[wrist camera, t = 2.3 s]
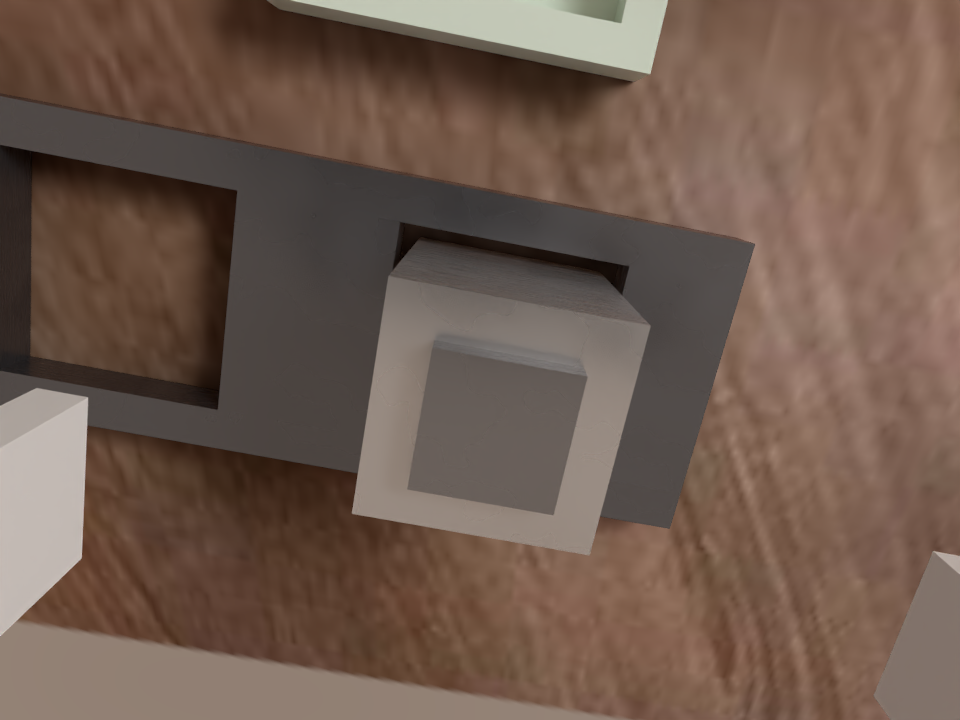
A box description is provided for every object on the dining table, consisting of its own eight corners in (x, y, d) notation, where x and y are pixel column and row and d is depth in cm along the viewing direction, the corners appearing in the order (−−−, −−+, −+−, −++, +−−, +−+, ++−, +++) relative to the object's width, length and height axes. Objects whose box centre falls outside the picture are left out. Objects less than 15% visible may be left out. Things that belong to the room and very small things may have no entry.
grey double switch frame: (-73, 374, 22) (-112, 389, 21) (-84, 76, 20) (-129, 71, 18) (658, 505, 23) (669, 528, 22) (736, 237, 21) (754, 243, 19)
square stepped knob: (392, 406, 23) (346, 527, 15) (420, 236, 21) (383, 280, 14) (559, 436, 23) (593, 570, 15) (599, 271, 21) (657, 333, 14)
